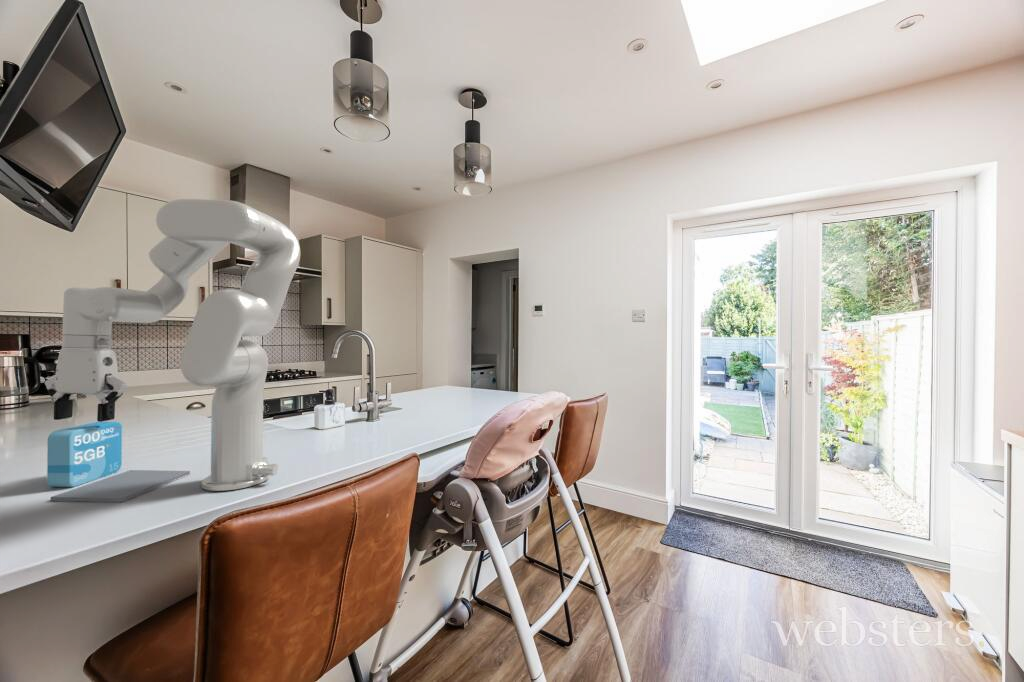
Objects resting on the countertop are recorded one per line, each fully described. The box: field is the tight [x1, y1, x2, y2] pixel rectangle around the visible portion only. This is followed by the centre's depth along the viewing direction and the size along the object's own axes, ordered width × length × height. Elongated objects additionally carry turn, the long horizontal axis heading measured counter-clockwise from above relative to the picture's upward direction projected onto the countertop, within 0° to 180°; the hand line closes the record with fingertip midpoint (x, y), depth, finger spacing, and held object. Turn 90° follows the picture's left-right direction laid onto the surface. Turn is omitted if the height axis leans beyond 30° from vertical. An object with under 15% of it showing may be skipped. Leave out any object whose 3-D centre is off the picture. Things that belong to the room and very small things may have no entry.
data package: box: [46, 421, 123, 488], centre depth 89 cm, size 12×4×12 cm, turn 3°
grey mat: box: [50, 469, 191, 503], centre depth 85 cm, size 14×16×1 cm
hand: (84, 419), depth 89 cm, fingers open, 9 cm apart
